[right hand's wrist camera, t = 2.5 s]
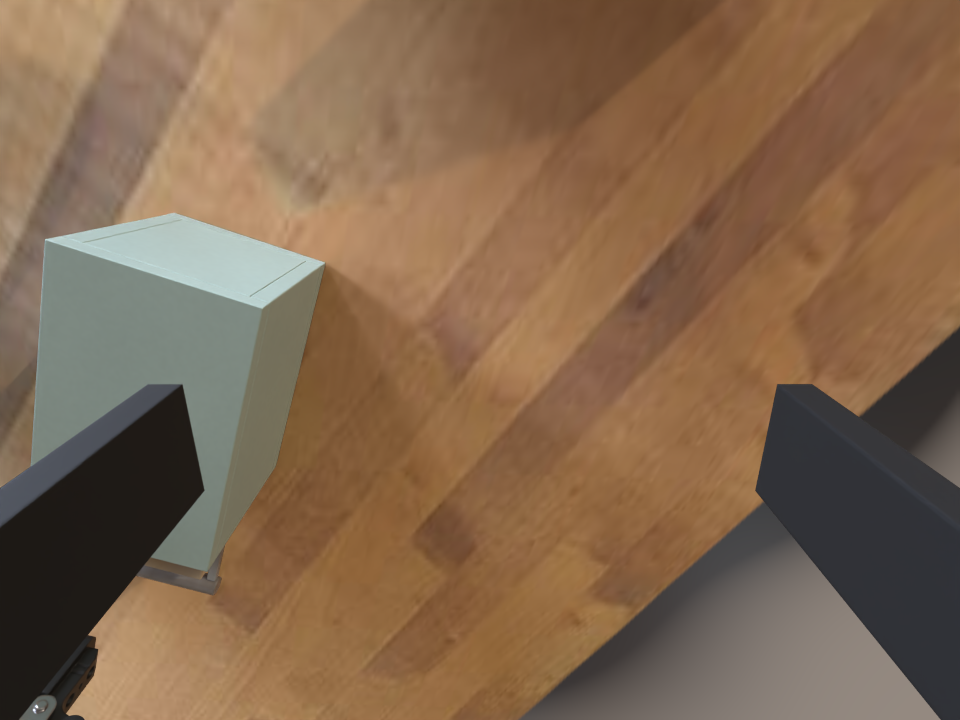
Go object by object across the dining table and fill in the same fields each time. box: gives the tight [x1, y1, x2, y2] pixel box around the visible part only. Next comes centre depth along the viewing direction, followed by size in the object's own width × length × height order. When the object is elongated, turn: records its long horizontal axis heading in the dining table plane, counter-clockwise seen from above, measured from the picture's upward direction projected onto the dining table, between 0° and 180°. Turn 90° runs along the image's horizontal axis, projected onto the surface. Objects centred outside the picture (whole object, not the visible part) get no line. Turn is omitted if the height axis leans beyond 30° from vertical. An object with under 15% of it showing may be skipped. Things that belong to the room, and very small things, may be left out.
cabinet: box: [31, 213, 325, 572], centre depth 34 cm, size 17×10×12 cm, turn 161°
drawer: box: [136, 545, 225, 595], centre depth 36 cm, size 21×9×10 cm, turn 161°
